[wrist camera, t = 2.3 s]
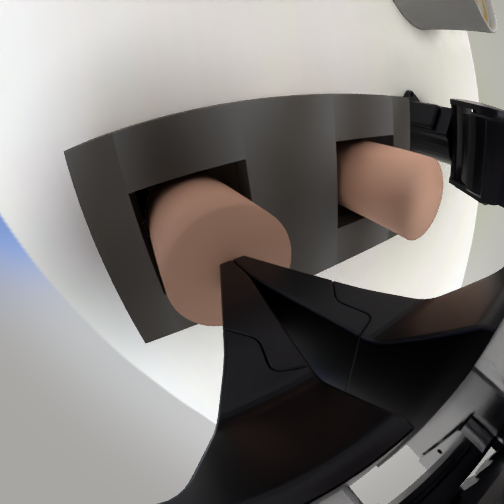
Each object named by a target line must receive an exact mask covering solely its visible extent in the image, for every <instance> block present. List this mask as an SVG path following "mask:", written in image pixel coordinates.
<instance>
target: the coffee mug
mask: <svg viewBox="0 0 504 504" xmlns="http://www.w3.org/2000/svg"><path fill="white" fill-rule="evenodd" d="M393 1H394V3H395V4H396V6H397V7H398V9H399V10H400V12H401V13H402V14H403V16H404V17H405V18H406V19H407V20H408V21H409V22H410V23H411V24H412V25H413V26H415V27H416V28H418V29H422V30H429V29H444V30H467V31H478V32H487V33H495V32H496V31H497V21H496V15H495V10H494V7H493V3H492V1H491V0H393Z"/></svg>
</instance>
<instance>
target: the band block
mask: <svg viewBox="0 0 504 504" xmlns="http://www.w3.org/2000/svg"><path fill="white" fill-rule="evenodd" d="M352 139H361V140H365V141H370V142H375V143H379V144H384V145H388V146H392V147H396V148H400V149H404V150H407V151H410V105H409V98H407V97H397V96H385V95H369V94H310V95H292V96H280V97H269V98H260V99H252V100H245V101H238V102H231V103H225V104H219V105H214V106H208V107H203V108H198V109H194V110H189V111H184V112H180V113H176V114H172V115H168V116H164V117H160V118H156V119H153V120H149V121H146V122H142V123H139V124H135V125H132V126H129V127H126V128H123V129H120V130H117V131H114V132H111V133H108V134H105V135H102V136H100V137H97V138H94V139H92V140H89V141H87V142H84V143H82V144H80V145H77V146H75V147H73V148H70V149H68V150H66V151H64V154H65V158H66V162H67V165H68V169H69V172H70V175H71V179H72V182H73V185H74V188H75V191H76V194H77V197H78V200H79V203H80V206H81V209H82V211H83V214H84V217H85V219H86V222H87V225H88V227H89V230H90V232H91V235H92V237H93V240H94V242H95V245H96V247H97V249H98V252H99V254H100V256H101V258H102V261H103V263H104V265H105V267H106V269H107V272H108V274H109V276H110V278H111V280H112V282H113V284H114V286H115V288H116V290H117V292H118V294H119V296H120V298H121V300H122V302H123V304H124V306H125V308H126V310H127V311H128V313H129V315H130V317H131V319H132V321H133V322H134V324H135V326H136V328H137V329H138V331H139V333H140V335H141V336H142V338H143V340H144V341H145V343H148V342H151V341H154V340H156V339H159V338H162V337H165V336H167V335H170V334H173V333H175V332H178V331H181V330H183V329H186V328H189V327H191V326H194V325H196V324H198V323H195V322H192V321H190V320H188V319H186V318H185V317H183V316H182V315H181V314H180V313H179V312H177V311H176V310H175V308H174V307H173V306H172V304H171V303H170V301H169V299H168V297H167V294H166V291H165V287H164V284H163V281H162V278H161V274H160V271H159V267H158V264H157V260H156V257H155V253H154V250H153V246H152V242H151V238H150V236H149V237H148V234H147V231H146V228H145V225H144V222H143V219H142V216H141V213H140V209H139V206H138V203H137V200H136V196H135V193H134V192H135V191H138V190H141V189H144V188H147V187H150V186H153V185H156V184H159V183H162V182H165V181H168V180H171V179H175V178H178V177H181V176H185V175H188V174H192V173H195V172H199V171H202V170H206V169H207V174H209V175H211V176H212V177H214V178H216V179H217V180H219V181H220V182H222V183H224V184H225V185H227V186H228V187H230V188H232V189H233V190H235V191H236V192H238V193H239V194H241V195H242V196H244V197H246V198H247V199H249V200H250V201H252V202H253V203H255V204H256V205H258V206H259V207H261V208H262V209H264V210H266V211H267V212H269V213H270V214H271V215H273V216H274V217H275V218H277V220H278V221H279V222H280V223H281V224H282V225H283V227H284V228H285V230H286V232H287V234H288V237H289V240H290V244H291V264H290V268H289V269H293V270H296V271H300V272H303V273H307V274H310V275H315V274H317V273H319V272H321V271H323V270H326V269H328V268H330V267H332V266H334V265H336V264H338V263H341V262H343V261H345V260H347V259H349V258H351V257H353V256H355V255H357V254H359V253H361V252H364V251H366V250H368V249H370V248H372V247H374V246H376V245H378V244H380V243H382V242H384V241H386V240H388V239H390V238H392V237H394V236H396V235H398V234H396V233H395V232H393V231H391V230H389V229H387V228H385V227H383V226H381V225H379V224H377V223H376V222H374V221H372V220H370V219H368V218H366V217H364V216H362V215H360V214H358V213H356V212H354V211H351V210H349V209H347V208H345V207H343V206H341V205H339V204H338V184H337V155H336V142H338V141H345V140H352Z"/></svg>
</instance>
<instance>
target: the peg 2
mask: <svg viewBox="0 0 504 504" xmlns="http://www.w3.org/2000/svg"><path fill="white" fill-rule="evenodd" d="M336 155H337V184H338V204H339V205H341V206H343V207H345V208H347V209H349V210H351V211H354V212H356V213H358V214H360V215H362V216H364V217H366V218H368V219H370V220H372V221H374V222H376V223H377V224H379V225H381V226H383V227H385V228H387V229H389V230H391V231H393V232H395V233H396V234H398V235H400V236H402V237H404V238H406V239H407V240H416V239H418V238H419V237H421V236H422V235H423V234H424V233H425V232H426V231H427V230H428V228H429V227H430V225H431V224H432V222H433V220H434V218H435V216H436V214H437V212H438V209H439V206H440V202H441V198H442V191H443V176H442V170H441V167H440V165H439V163H438V162H437V160H435V159H434V158H432V157H429V156H425V155H422V154H418V153H415V152H411V151H407V150H404V149H400V148H396V147H392V146H388V145H384V144H379V143H375V142H370V141H365V140H361V139H352V140H345V141H338V142H336Z"/></svg>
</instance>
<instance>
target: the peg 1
mask: <svg viewBox="0 0 504 504" xmlns="http://www.w3.org/2000/svg"><path fill="white" fill-rule="evenodd" d="M145 218H146V223H147V227H148V231H149V235H150V238H151V242H152V246H153V250H154V253H155V257H156V260H157V264H158V267H159V271H160V274H161V278H162V281H163V284H164V287H165V291H166V294H167V297H168V299H169V301H170V303H171V304H172V306H173V307H174V308H175V310H176V311H177V312H179V313H180V314H181V315H182V316H183V317H185V318H186V319H188V320H190V321H192V322H195V323H198V324H202V325H207V326H223V321H222V304H221V286H220V264H222V263H224V262H227V261H230V260H231V261H233V259H235V258H238V257H241V256H248V257H251V258H255V259H258V260H262V261H265V262H269V263H272V264H276V265H279V266H283V267H286V268H290V264H291V244H290V240H289V237H288V234H287V232H286V230H285V228H284V227H283V225H282V224H281V223H280V222H279V221H278V220H277V218H275V217H274V216H273V215H271V214H270V213H269V212H267V211H266V210H264V209H262V208H261V207H259V206H258V205H256V204H255V203H253V202H252V201H250V200H249V199H247V198H246V197H244V196H242V195H241V194H239V193H238V192H236V191H235V190H233V189H232V188H230V187H228V186H227V185H225V184H224V183H222V182H220V181H219V180H217V179H216V178H214V177H212V176H211V175H209V174H207V173H205V172H203V171H199V172H195V173H192V174H188V175H185V176H181V177H178V178H175V179H171V180H168V181H165V182H162V183H159V184H156V185H155V186H154V187H153V189H152V190H151V192H150V194H149V196H148V199H147V202H146V207H145Z"/></svg>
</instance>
